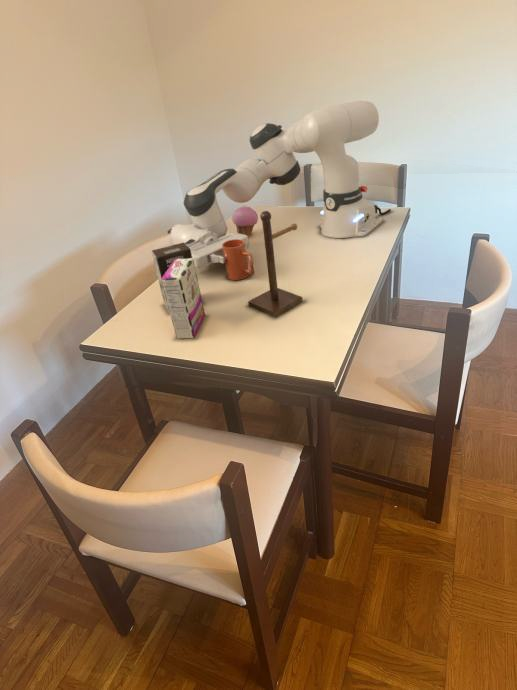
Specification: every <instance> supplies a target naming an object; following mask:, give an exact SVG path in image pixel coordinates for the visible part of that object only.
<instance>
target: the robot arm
mask: <svg viewBox="0 0 517 690" xmlns="http://www.w3.org/2000/svg"><path fill="white" fill-rule="evenodd" d="M379 121H380V115H379V111H378V109H377V107H376V105H375V104H374V103H373V102H371V101H365V100H363V101H362V100H354V101H350V102H345V103H340V104H335V105H331V106H326V107H321V108H320V107H319V108H317V109H316V110H314V111H310V112H309V113H307V114H306V115H305V116H304V117H302V118H300V119H298V120H296V121H295V122H293V123H292V124H291V125H290V126H289V127H287V128H286V129H285V130H283V129H282V127H283V126H282V125H281V124H275V123H270V122H268V123H267V122H265V124H261V125H258V127H255V129H254V130H253V131H252V133H251V135H250V136H249V144H250V147H251V149H252V150H253V151H254V153H255V154H256V156H257V157H250V158H247V159H246V160H244V161H243V162H241V163H240V164H239V165H238V166H237V167H235V168H226V169H223V170H220V171H219V172H217V173H215V174H214V175H212V176H211V177H209V178H208V179H207V180H205V181H204V182H202V183H200V184H199V185H197V186H195V187H193V188H191V189H189V190H188V191H187V192H186V193H185V196H184V199H183V206H184V208H185V210H186V211H187V213H188V215H189V216H190V219H191V221H192V223H190V224H185V223H177V224H174V226H173V227H172V228H171V229H170V234H169V235H170V236H169V237H170V242H171V244H172V245H176V244H180V243H185V244H186V245H187V246H188V247H189V248H190V250H191V255H192V258H193V261H194V266H195V269H202V268H205V267H207V266H209V265H211V264H215V263H216V264H217V263H219V264H225V262H227V258H226V256H224V253H223V247H222V244H223V243H224V242H226V241H229V240H234V239H240V240H243V241H244V242H245V249H246V252H248V248H249V245H250V241H249V237H248V236H247V235H244V234H239V233H237V232H230V233H227V232H228V226H227V223H226V220H225V217H224V215H223V213H222V210H221V208H220V206H219V203H218V200H217V193H219V192H220V191H221V190H222V191H223V193H224V195H226V197H227V198H228V199H229V200H231V201H233V202H235V203H240V204H243V203H248V202H249V201H251V200H252V199H253V198H254V197H256V195H257V193H258V192H259V190H260V189H261V187H262V186H263V185H264V183H265V182H266V181H268V180H269V182H268V183H269V184H270V185H274V184H275V185H277V186H286V185H289V184H291V183H293V182H294V181H295V180H296V179H297V178H298V177H299V175H300V174H301V166H300V163H299V161H298V160H297V159H296V156H295V154H294V153H297V154H307V153H308V154H309V153H312V152H313V153H314V152H315V153H316V155H317V156H318V158H319V160H320V164H321V165H322V166H321V167H322V172H323V183H324V184H323V186H324V187H323V192H322V197H323V205H322V210H321V211H320V215H322V216H321V217H322V219H321V223H320V229H321V232H320V234H321V235H323V236H325V237H328V238H333V239H334V238H335V239H346V238H347V239H348V238H352V237H365V236H367V235H368V234H370V233H371V232H372V231H373V230H374V229H376V228H377V227H378V226H379V225H380V224H382V223H383V221H384V220H383V218H382V217H380V216H384V215H387V214H388V213H390V212H391V211H392V209H391V208H389V209H387V210H386V211H384V212H382V209H381V208H380V207H379V206H378V205H377V204H373V203H372V202H370V201H369V200H368V199H366V198H365V197H363V193H367V192H368V186H367V185H360V165H359V162H358V161H357V159H355V158H354V157H353V156H351V155H348V154H347V153H346V149H345V144H348V143H353V142H356V141H360V140H363V139H365V138H367V137H369V136H371V135H373V134H374V133H375V132H376V131H377V129H378V126H379ZM377 214H379V216H378V215H377Z"/></svg>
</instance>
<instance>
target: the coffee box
mask: <svg viewBox="0 0 517 690" xmlns="http://www.w3.org/2000/svg"><path fill="white" fill-rule="evenodd" d="M151 253H152V257H153V262H154V266H155V271H156V275H157V279H158V284H159V287H160V292H161V296H162V301H163V304H164V307H165V308H166V310H167V311H168V313H169V314H170V311H169V307H168V304H167V301H166V297H165V293H164V289H163V285H162V282H161V279H162V277H163V276H164V274H165V273H166V271H167V270H168V269H169V267H170V266H171V264H172V263H173V261H174V260H175V259H183V258H192V255H191V250H190V248H189V247H188V246H187V245H186V244H185V243H180V244H176V245H173V244H172V245H168V246H165V247H160V248H157V249H152V250H151Z"/></svg>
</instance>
